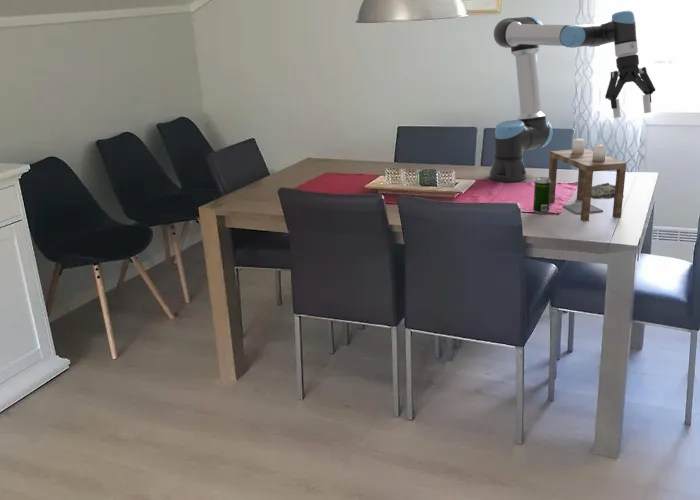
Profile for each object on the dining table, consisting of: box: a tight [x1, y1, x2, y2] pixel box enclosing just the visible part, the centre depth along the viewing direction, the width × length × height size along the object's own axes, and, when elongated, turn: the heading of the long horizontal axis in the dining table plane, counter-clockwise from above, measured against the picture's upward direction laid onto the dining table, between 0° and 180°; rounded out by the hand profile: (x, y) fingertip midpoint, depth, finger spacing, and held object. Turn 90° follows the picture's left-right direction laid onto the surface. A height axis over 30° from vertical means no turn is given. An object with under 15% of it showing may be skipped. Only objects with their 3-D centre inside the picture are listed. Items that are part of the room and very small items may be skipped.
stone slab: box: [591, 182, 615, 199], centre depth 274 cm, size 12×17×3 cm
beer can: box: [532, 176, 551, 215], centre depth 252 cm, size 5×5×12 cm
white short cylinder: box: [571, 137, 586, 155], centre depth 253 cm, size 4×4×5 cm
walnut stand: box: [548, 147, 627, 222], centre depth 252 cm, size 26×14×19 cm, turn 13°
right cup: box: [592, 143, 607, 161], centre depth 242 cm, size 4×4×5 cm
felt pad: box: [562, 203, 604, 215], centre depth 255 cm, size 10×10×1 cm
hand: (632, 115), depth 260 cm, fingers open, 13 cm apart
